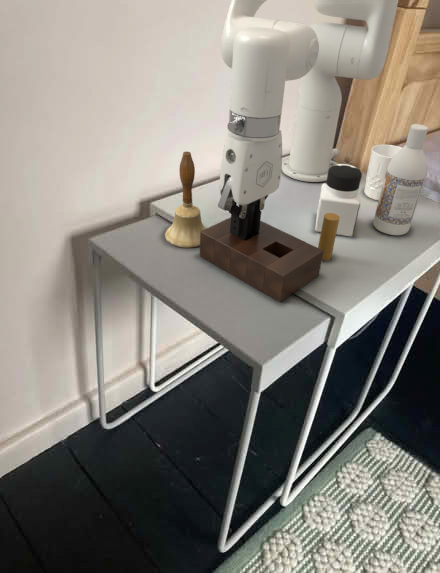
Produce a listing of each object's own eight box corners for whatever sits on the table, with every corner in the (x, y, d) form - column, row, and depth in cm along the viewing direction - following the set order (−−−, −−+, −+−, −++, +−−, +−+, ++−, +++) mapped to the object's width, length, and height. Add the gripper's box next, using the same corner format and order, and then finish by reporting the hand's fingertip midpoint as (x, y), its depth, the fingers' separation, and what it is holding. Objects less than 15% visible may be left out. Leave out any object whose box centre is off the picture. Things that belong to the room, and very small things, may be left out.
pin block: (199, 256, 86) (200, 231, 83) (239, 235, 92) (241, 211, 89) (279, 302, 77) (284, 276, 74) (318, 275, 83) (324, 250, 80)
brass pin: (321, 251, 89) (329, 211, 85) (333, 256, 88) (342, 216, 83) (313, 256, 88) (321, 216, 83) (325, 262, 86) (334, 221, 82)
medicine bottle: (352, 237, 94) (366, 178, 87) (314, 232, 95) (325, 173, 88) (352, 219, 100) (365, 163, 93) (316, 215, 101) (326, 158, 93)
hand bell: (183, 253, 87) (184, 166, 77) (155, 233, 91) (153, 150, 82) (219, 238, 91) (223, 155, 82) (190, 220, 96) (192, 140, 87)
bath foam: (377, 215, 102) (403, 117, 90) (411, 225, 99) (443, 125, 87) (368, 229, 97) (394, 127, 85) (404, 240, 94) (436, 136, 82)
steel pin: (253, 245, 85) (258, 202, 80) (243, 250, 83) (247, 207, 79) (242, 239, 86) (246, 197, 82) (232, 244, 85) (235, 202, 80)
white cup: (354, 194, 109) (365, 150, 104) (371, 184, 114) (382, 141, 108) (387, 206, 105) (400, 161, 100) (403, 195, 110) (416, 151, 104)
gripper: (236, 142, 66) (228, 259, 76) (307, 119, 75) (291, 225, 86) (196, 127, 70) (194, 240, 80) (269, 107, 79) (258, 210, 90)
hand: (244, 231), depth 83 cm, fingers closed on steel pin, 2 cm apart
